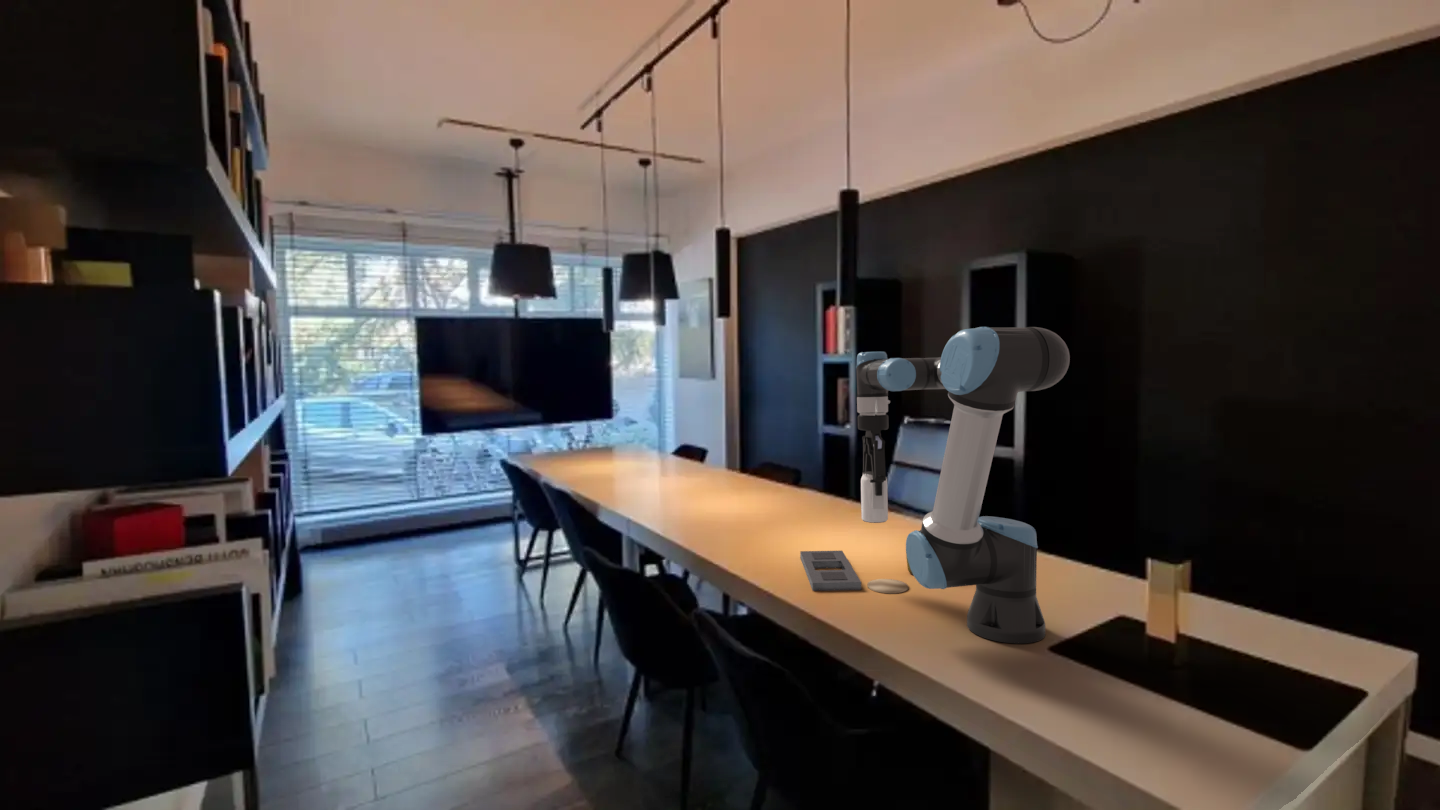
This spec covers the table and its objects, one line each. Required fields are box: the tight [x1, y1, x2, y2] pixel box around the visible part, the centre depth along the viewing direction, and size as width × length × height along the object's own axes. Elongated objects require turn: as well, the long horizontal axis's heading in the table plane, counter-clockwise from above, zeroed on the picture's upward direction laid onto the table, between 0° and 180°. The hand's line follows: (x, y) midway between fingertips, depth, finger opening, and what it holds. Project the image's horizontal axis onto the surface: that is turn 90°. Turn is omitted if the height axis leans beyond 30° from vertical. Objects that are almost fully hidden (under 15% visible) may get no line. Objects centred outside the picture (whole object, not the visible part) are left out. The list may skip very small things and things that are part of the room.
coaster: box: [867, 578, 910, 595], centre depth 172 cm, size 10×10×1 cm
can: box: [860, 471, 889, 524], centre depth 173 cm, size 6×6×12 cm
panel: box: [799, 550, 862, 592], centre depth 184 cm, size 28×12×2 cm, turn 0°
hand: (874, 505), depth 173 cm, fingers closed on can, 6 cm apart
